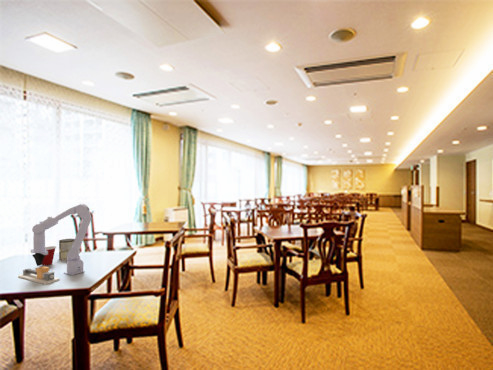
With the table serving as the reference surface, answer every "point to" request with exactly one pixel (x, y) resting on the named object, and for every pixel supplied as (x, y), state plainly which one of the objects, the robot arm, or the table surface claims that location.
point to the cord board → (32, 276)
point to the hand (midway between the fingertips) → (39, 265)
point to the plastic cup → (49, 255)
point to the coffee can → (65, 248)
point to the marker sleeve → (41, 271)
